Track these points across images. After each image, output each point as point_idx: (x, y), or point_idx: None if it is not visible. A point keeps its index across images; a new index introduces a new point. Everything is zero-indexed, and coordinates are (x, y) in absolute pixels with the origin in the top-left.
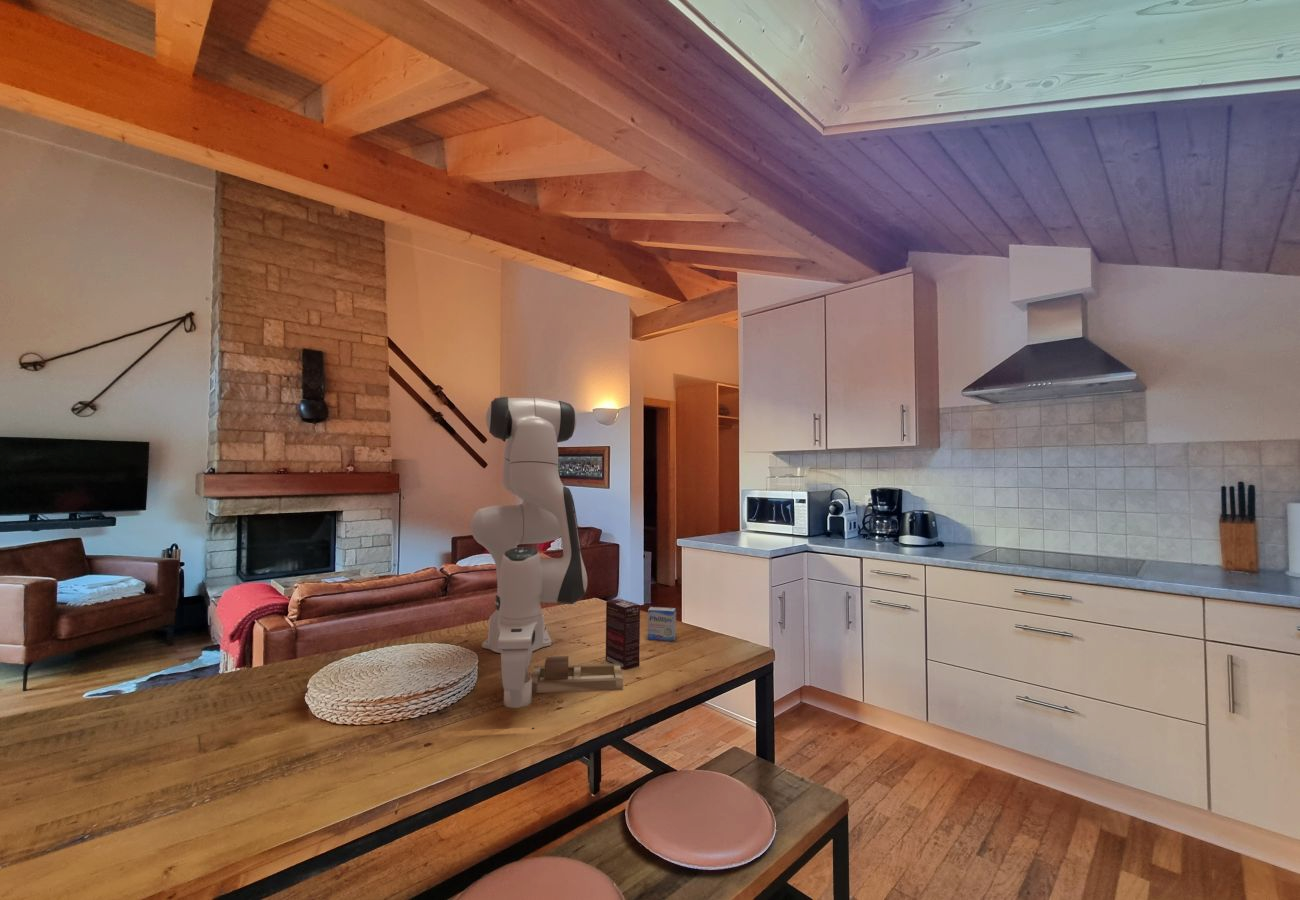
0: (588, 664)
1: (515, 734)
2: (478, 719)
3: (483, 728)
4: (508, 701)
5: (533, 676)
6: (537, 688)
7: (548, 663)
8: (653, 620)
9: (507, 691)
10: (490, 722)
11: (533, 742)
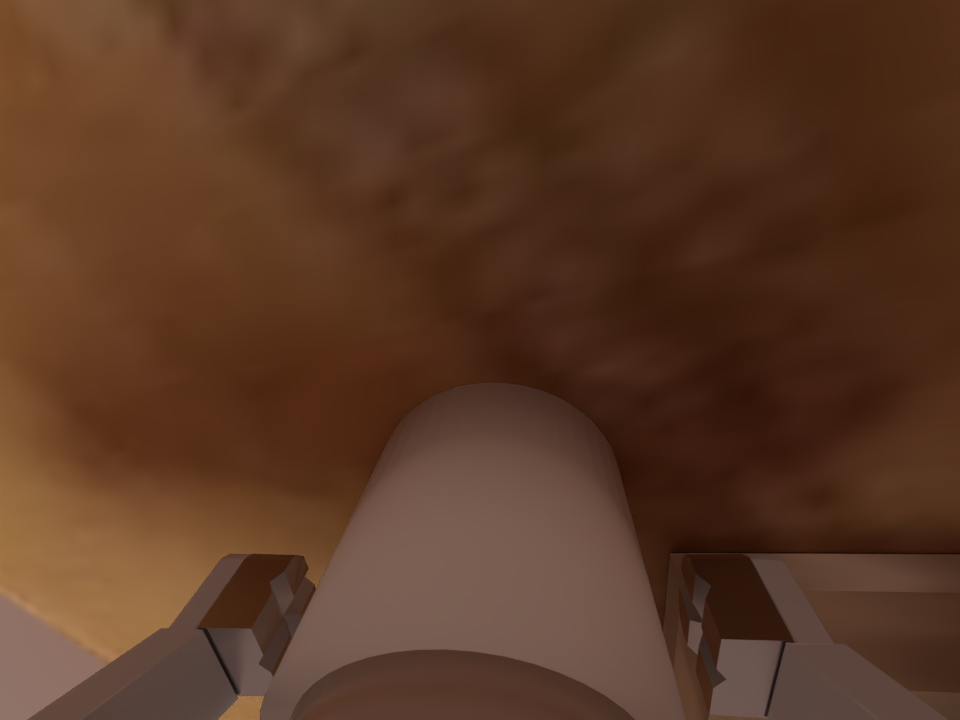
0: None
1: (85, 524)
2: (208, 202)
3: (73, 299)
4: (361, 498)
5: (945, 705)
6: (690, 676)
7: None
8: None
9: (324, 574)
10: (185, 332)
11: (46, 610)
